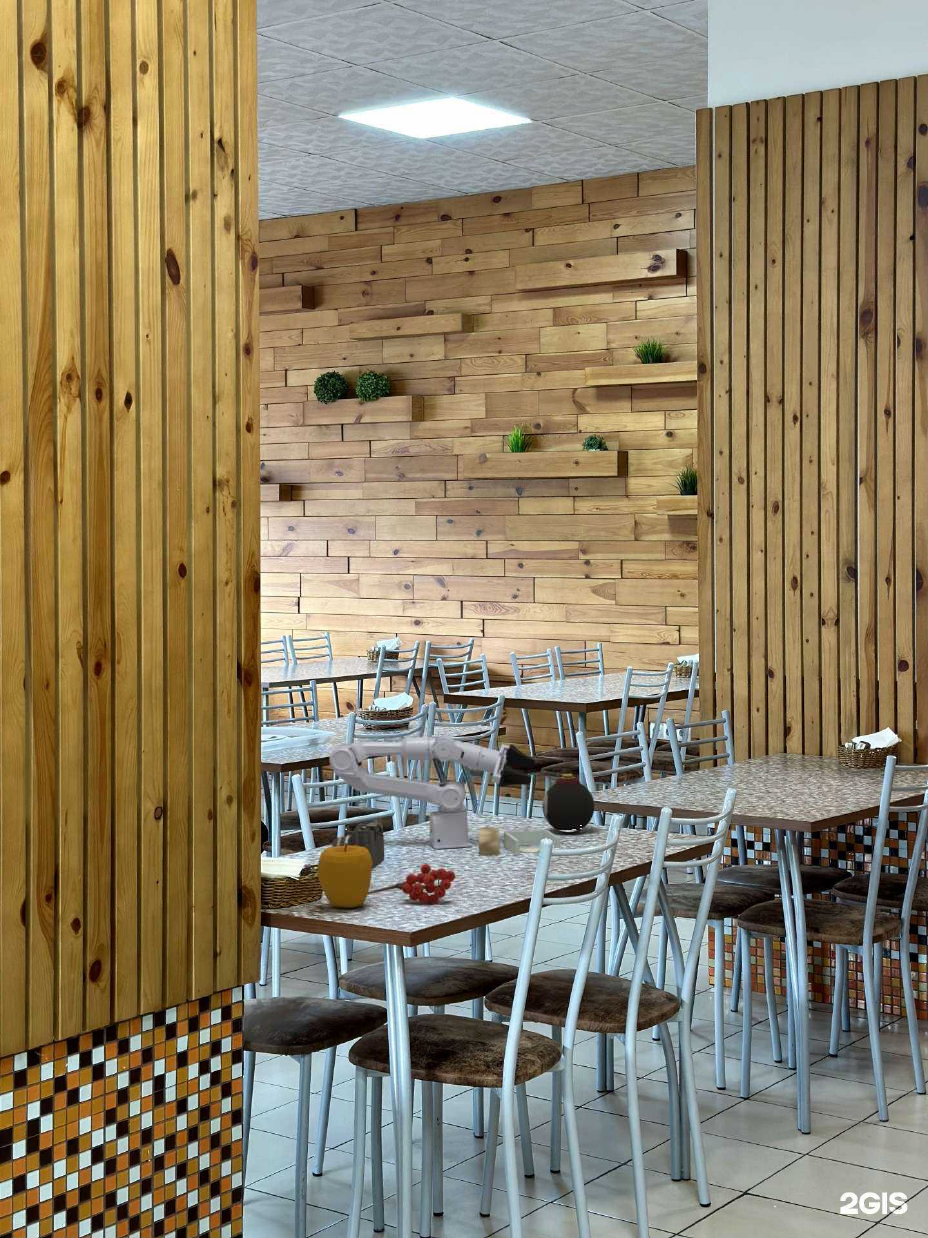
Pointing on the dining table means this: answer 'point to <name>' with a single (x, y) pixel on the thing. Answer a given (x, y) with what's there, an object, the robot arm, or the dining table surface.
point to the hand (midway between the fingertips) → (532, 772)
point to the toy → (568, 804)
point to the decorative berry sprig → (428, 880)
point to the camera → (366, 840)
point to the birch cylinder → (488, 841)
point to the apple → (345, 875)
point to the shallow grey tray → (528, 840)
